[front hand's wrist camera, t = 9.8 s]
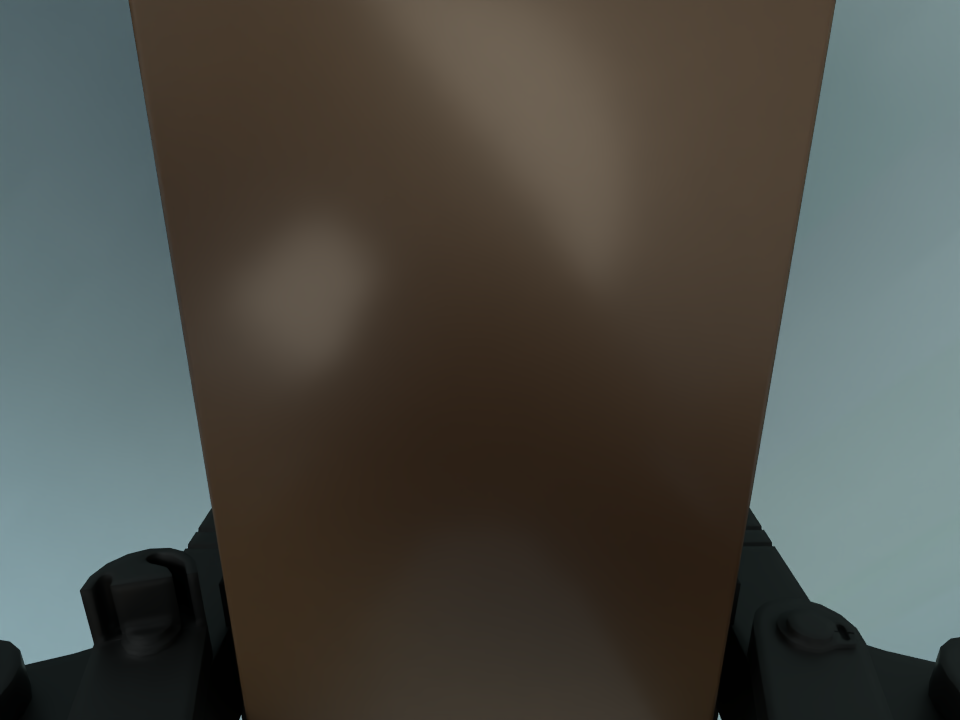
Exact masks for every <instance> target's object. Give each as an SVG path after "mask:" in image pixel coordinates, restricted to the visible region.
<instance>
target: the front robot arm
mask: <svg viewBox="0 0 960 720" xmlns="http://www.w3.org/2000/svg"><path fill="white" fill-rule="evenodd" d="M80 593H81V597H82V601H83V604H84V608H85V612H86V616H87V619H88V623H89V627H90V630H91V634H92V638H93V642H94V646H93V648H91V649H88V650H84V651H81V652H78V653H75V654H70V655H66V656H62V657H58V658H53V659H49V660H45V661H40V662H36V663H32V664H27V665H25V664H24V661H23V658H22V655H21V652H20V650H19V649H18V648H17V647H16V646H14V645H13V644H12V643H11V642H9V641H3V640H0V720H239V719H240V716H241V715H242V720H247V719H246V712H245V706H244V700H243V694H242V688H241V682H240V676H239V670H238V664H237V658H236V652H235V645H234V639H233V633H232V627H231V621H230V615H229V609H228V603H227V597H226V591H225V585H224V578H223V572H222V566H221V560H220V554H219V548H218V542H217V536H216V530H215V524H214V518H213V511H212V509H211V510H210V511H209V513H208V514H207V516H206V518H205V519H204V521H203V522H202V524H201V525H200V527H199V531H198V532H196V533H195V535H194V536H193V538H192V539H191V541H190V542H189V544H188V549H185V550H184V551H180V550H176V549H172V548H155V549H147V550H142V551H138V552H134V553H130V554H127V555H125V556H123V557H121V558H118V559H116V560H114V561H112V562H110V563H107V564H106V565H105V566H103V567H102V568H101V569H99V570H98V571H97V572H95V573H94V574H93V575H91V576H90V577H89V579H88V580H87V581H86V583H85V584H84V586H83V587H82V588H81V590H80ZM718 713H719V714H720V717H721V719H722V720H960V637H958V638H952V639H950V640H948V641H947V642H946V643H945V644H944V645H942V646H941V647H940V650H939V653H938V656H937V659H936V662H931V661H927V660H923V659H918V658H914V657H910V656H906V655H901V654H897V653H893V652H888V651H884V650H881V649H878V648H875V647H871V646H868V645H866V643H865V641H864V639H863V638H862V636H861V635H860V633H859V631H858V630H857V628H856V627H854V626H853V625H852V624H851V623H850V622H848V621H847V620H846V619H845V618H844V617H843V616H841V615H840V614H838V613H836V612H834V611H832V610H830V609H828V608H827V607H825V606H823V605H821V604H817V603H814V602H810V600H809V599H808V597H807V596H806V594H805V592H804V591H803V589H802V588H801V586H800V585H799V583H798V582H797V580H796V579H795V577H794V576H793V574H792V572H791V571H790V569H789V568H788V566H787V565H786V563H785V562H784V560H783V559H782V557H781V556H780V554H779V552H778V551H777V549H776V548H775V546H772V542H771V540H770V539H769V537H768V536H767V534H766V532H765V531H764V530H762V529H761V525H760V523H759V522H758V520H757V519H756V517H755V516H754V514H753V512H752V511H751V509H750V508H749V512H748V518H747V524H746V530H745V536H744V541H743V547H742V553H741V559H740V565H739V571H738V577H737V582H736V588H735V594H734V600H733V606H732V612H731V618H730V623H729V629H728V635H727V641H726V647H725V653H724V659H723V664H722V670H721V676H720V682H719V688H718V694H717V700H716V705H715V711H714V717H713V720H717V719H718Z"/></svg>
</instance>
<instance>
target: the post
mask: <svg viewBox="0 0 960 720" xmlns="http://www.w3.org/2000/svg"><path fill="white" fill-rule="evenodd" d="M835 3H836V0H129V6H130V12H131V18H132V24H133V30H134V36H135V42H136V49H137V55H138V61H139V67H140V73H141V79H142V85H143V91H144V97H145V103H146V109H147V116H148V122H149V128H150V134H151V140H152V146H153V152H154V158H155V164H156V170H157V176H158V183H159V189H160V195H161V201H162V207H163V213H164V219H165V225H166V231H167V237H168V243H169V250H170V256H171V262H172V268H173V274H174V280H175V286H176V292H177V298H178V304H179V310H180V317H181V323H182V329H183V335H184V341H185V347H186V353H187V359H188V365H189V371H190V377H191V384H192V390H193V396H194V402H195V408H196V414H197V420H198V426H199V432H200V438H201V444H202V451H203V457H204V463H205V469H206V475H207V481H208V487H209V493H210V499H211V505H212V511H213V518H214V524H215V530H216V536H217V542H218V548H219V554H220V560H221V566H222V572H223V578H224V585H225V591H226V597H227V603H228V609H229V615H230V621H231V627H232V633H233V639H234V645H235V652H236V658H237V664H238V670H239V676H240V682H241V688H242V694H243V700H244V706H245V712H246V719H247V720H713V717H714V711H715V705H716V700H717V694H718V688H719V682H720V676H721V670H722V664H723V659H724V653H725V647H726V641H727V635H728V629H729V623H730V618H731V612H732V606H733V600H734V594H735V588H736V582H737V577H738V571H739V565H740V559H741V553H742V547H743V541H744V536H745V530H746V524H747V518H748V512H749V506H750V500H751V495H752V489H753V483H754V477H755V471H756V465H757V460H758V454H759V448H760V442H761V436H762V430H763V424H764V419H765V413H766V407H767V401H768V395H769V389H770V383H771V378H772V372H773V366H774V360H775V354H776V348H777V342H778V337H779V331H780V325H781V319H782V313H783V307H784V301H785V296H786V290H787V284H788V278H789V272H790V266H791V260H792V255H793V249H794V243H795V237H796V231H797V225H798V219H799V214H800V208H801V202H802V196H803V190H804V184H805V178H806V173H807V167H808V161H809V155H810V149H811V143H812V137H813V132H814V126H815V120H816V114H817V108H818V102H819V96H820V91H821V85H822V79H823V73H824V67H825V61H826V55H827V50H828V44H829V38H830V32H831V26H832V20H833V14H834V9H835Z"/></svg>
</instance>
